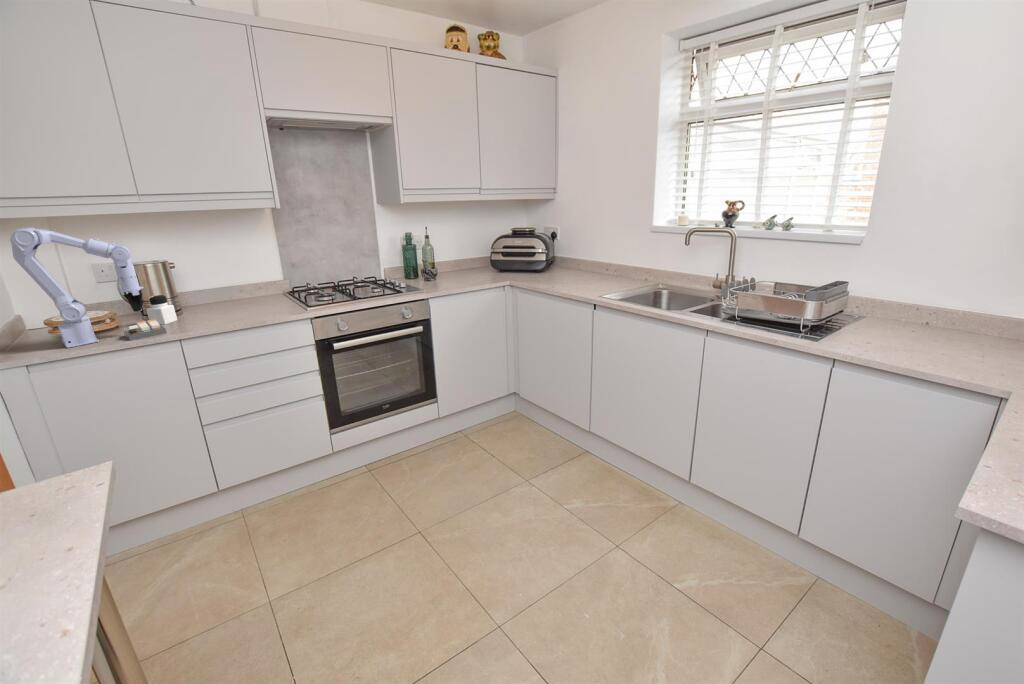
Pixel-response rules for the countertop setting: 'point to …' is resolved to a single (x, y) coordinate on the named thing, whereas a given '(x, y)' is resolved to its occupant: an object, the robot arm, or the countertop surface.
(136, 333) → the console
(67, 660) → the countertop surface
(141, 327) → the rocker
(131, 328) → the rocker
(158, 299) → the medicine bottle
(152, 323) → the rocker
